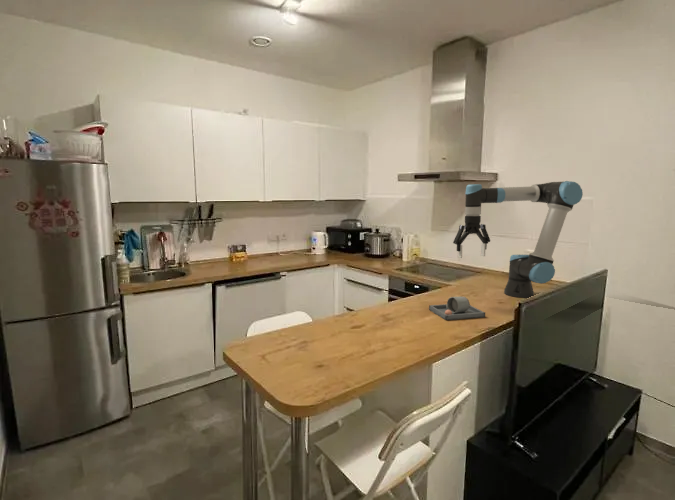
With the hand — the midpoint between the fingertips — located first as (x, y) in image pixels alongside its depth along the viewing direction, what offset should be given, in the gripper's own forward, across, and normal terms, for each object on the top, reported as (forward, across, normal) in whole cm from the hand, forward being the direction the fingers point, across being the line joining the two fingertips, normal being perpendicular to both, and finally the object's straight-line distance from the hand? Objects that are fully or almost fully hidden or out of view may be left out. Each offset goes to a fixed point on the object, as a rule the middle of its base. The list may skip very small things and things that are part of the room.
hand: (471, 256), depth 191 cm
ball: (+23, +25, +19) cm, 39 cm away
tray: (+24, +17, +14) cm, 33 cm away
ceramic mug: (+24, +17, +12) cm, 31 cm away
